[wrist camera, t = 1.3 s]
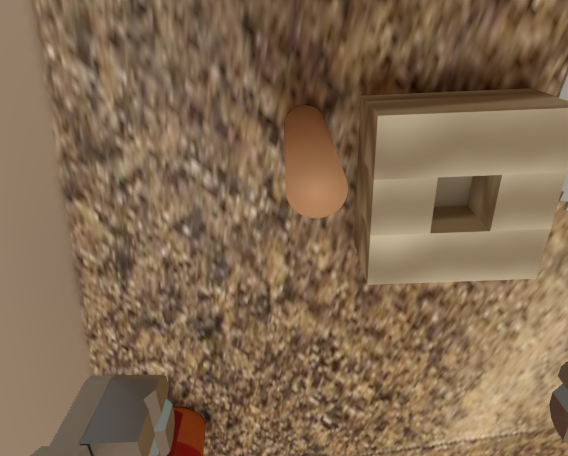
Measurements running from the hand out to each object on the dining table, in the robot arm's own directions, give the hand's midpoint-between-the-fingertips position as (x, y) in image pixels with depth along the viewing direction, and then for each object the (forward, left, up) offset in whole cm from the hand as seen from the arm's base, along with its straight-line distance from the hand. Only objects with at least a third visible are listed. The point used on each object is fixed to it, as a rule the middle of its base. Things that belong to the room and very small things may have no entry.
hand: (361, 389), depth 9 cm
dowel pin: (+1, 0, -25) cm, 25 cm away
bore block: (+5, +10, -25) cm, 27 cm away
